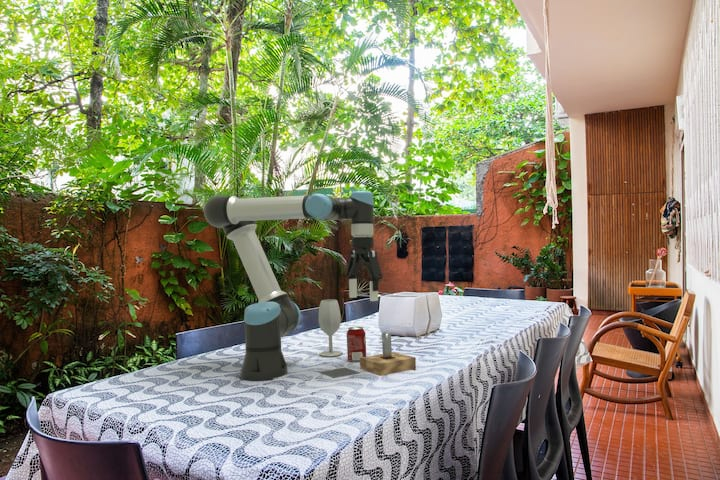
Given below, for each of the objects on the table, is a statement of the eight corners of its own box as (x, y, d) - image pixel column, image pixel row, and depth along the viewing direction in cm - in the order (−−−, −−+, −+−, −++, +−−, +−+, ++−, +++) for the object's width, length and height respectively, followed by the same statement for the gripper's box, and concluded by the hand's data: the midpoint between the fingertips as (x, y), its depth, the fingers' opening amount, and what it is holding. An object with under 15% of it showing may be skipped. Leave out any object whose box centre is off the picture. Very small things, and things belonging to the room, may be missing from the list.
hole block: (380, 376, 158) (380, 364, 158) (360, 369, 168) (360, 357, 168) (415, 369, 165) (415, 357, 165) (394, 363, 175) (394, 351, 175)
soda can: (364, 363, 177) (363, 329, 178) (345, 363, 179) (344, 329, 179) (368, 359, 184) (366, 326, 184) (350, 359, 185) (348, 326, 185)
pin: (386, 371, 164) (385, 334, 165) (381, 369, 167) (380, 333, 167) (394, 370, 166) (392, 333, 166) (389, 368, 168) (387, 332, 169)
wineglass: (332, 358, 188) (330, 302, 188) (315, 356, 193) (313, 301, 193) (346, 353, 195) (344, 299, 195) (329, 351, 200) (327, 299, 200)
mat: (333, 379, 157) (333, 378, 157) (318, 373, 165) (318, 372, 165) (360, 374, 162) (360, 372, 162) (345, 368, 171) (345, 367, 171)
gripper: (392, 235, 162) (393, 301, 162) (353, 237, 184) (354, 295, 183) (373, 235, 158) (373, 303, 158) (335, 237, 180) (336, 296, 179)
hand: (363, 299), depth 171 cm, fingers open, 13 cm apart
